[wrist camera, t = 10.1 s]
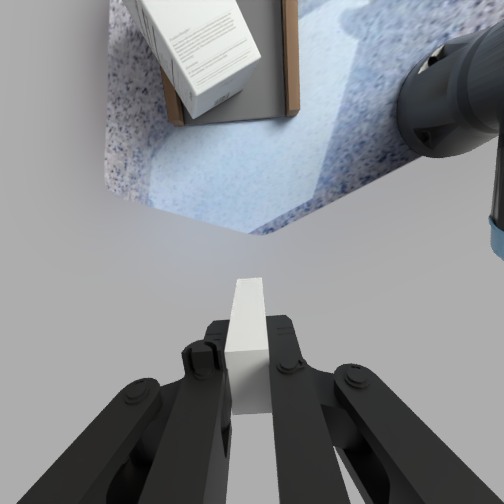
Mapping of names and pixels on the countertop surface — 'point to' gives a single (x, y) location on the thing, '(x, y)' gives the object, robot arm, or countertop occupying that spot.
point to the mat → (255, 70)
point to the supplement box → (198, 47)
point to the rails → (289, 69)
